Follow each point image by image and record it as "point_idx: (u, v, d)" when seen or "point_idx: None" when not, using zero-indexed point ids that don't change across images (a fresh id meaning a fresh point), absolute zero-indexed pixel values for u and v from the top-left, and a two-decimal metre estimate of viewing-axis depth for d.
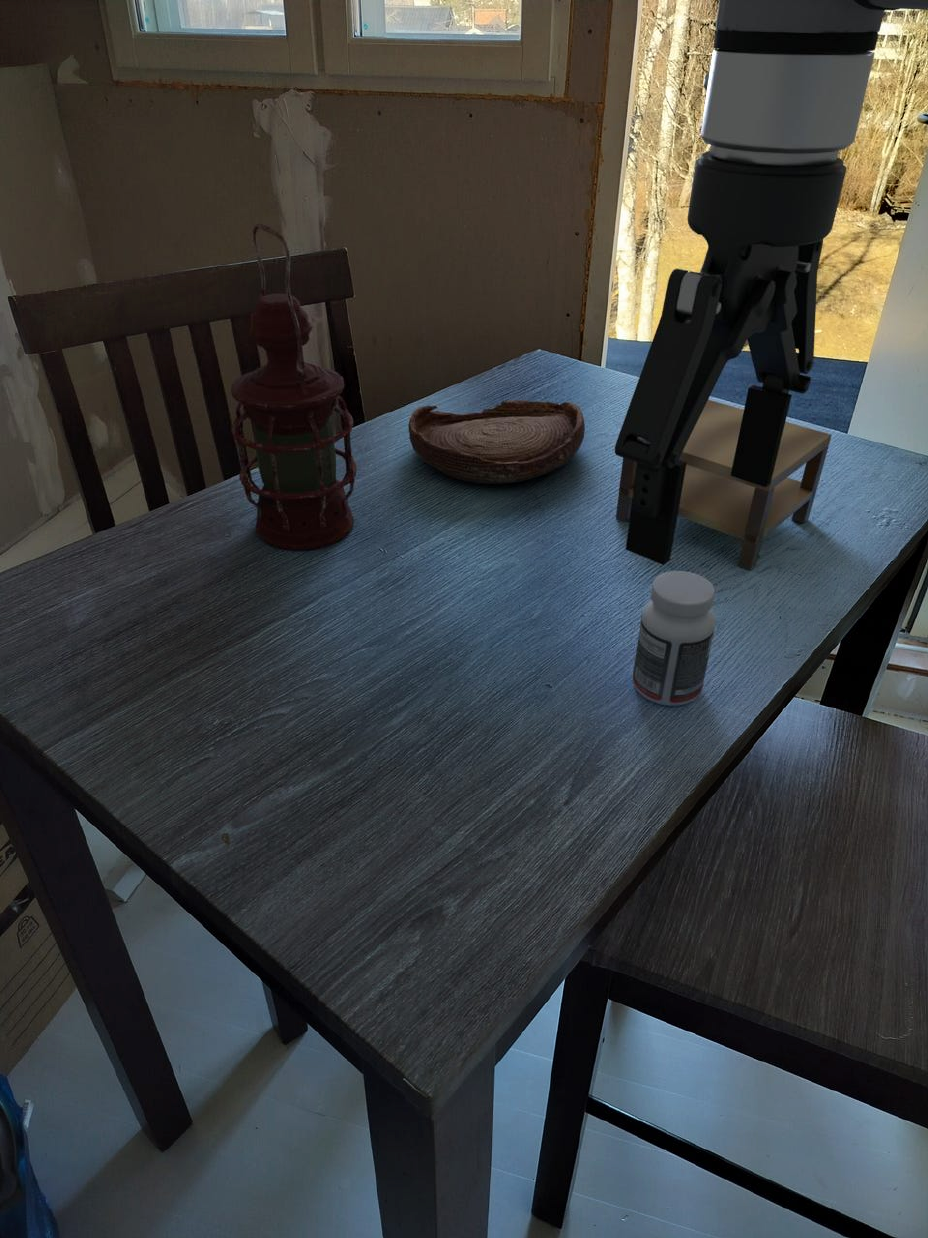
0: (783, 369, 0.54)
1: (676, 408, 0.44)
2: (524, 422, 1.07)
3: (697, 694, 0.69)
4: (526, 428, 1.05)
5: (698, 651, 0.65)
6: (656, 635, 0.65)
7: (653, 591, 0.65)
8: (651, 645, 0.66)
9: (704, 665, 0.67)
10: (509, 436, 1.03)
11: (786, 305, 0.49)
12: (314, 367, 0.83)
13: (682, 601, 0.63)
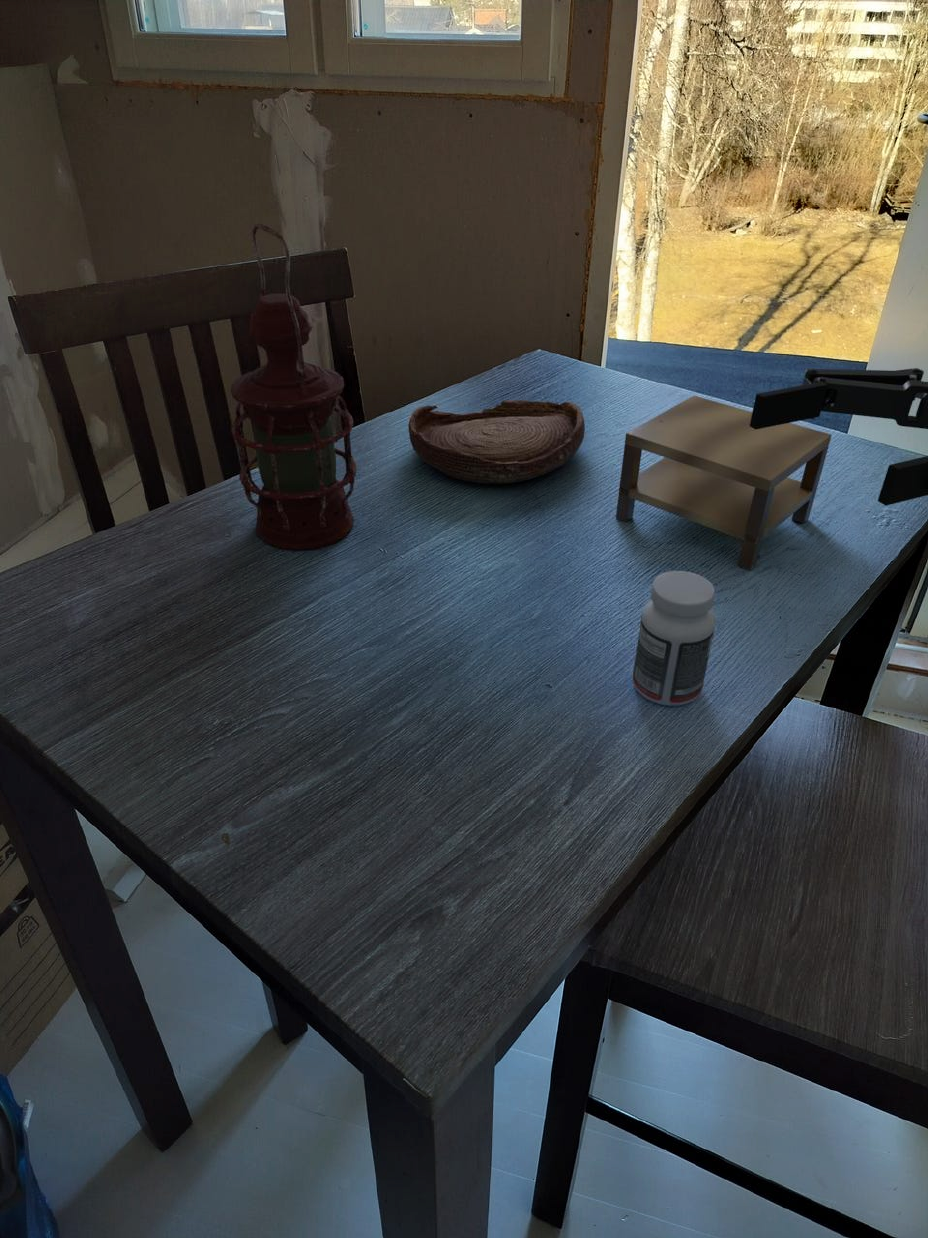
0: None
1: (845, 371, 0.71)
2: (524, 422, 1.07)
3: (697, 694, 0.69)
4: (526, 428, 1.05)
5: (698, 651, 0.65)
6: (656, 635, 0.65)
7: (653, 591, 0.65)
8: (651, 645, 0.66)
9: (704, 665, 0.67)
10: (509, 436, 1.03)
11: None
12: (314, 367, 0.83)
13: (682, 601, 0.63)
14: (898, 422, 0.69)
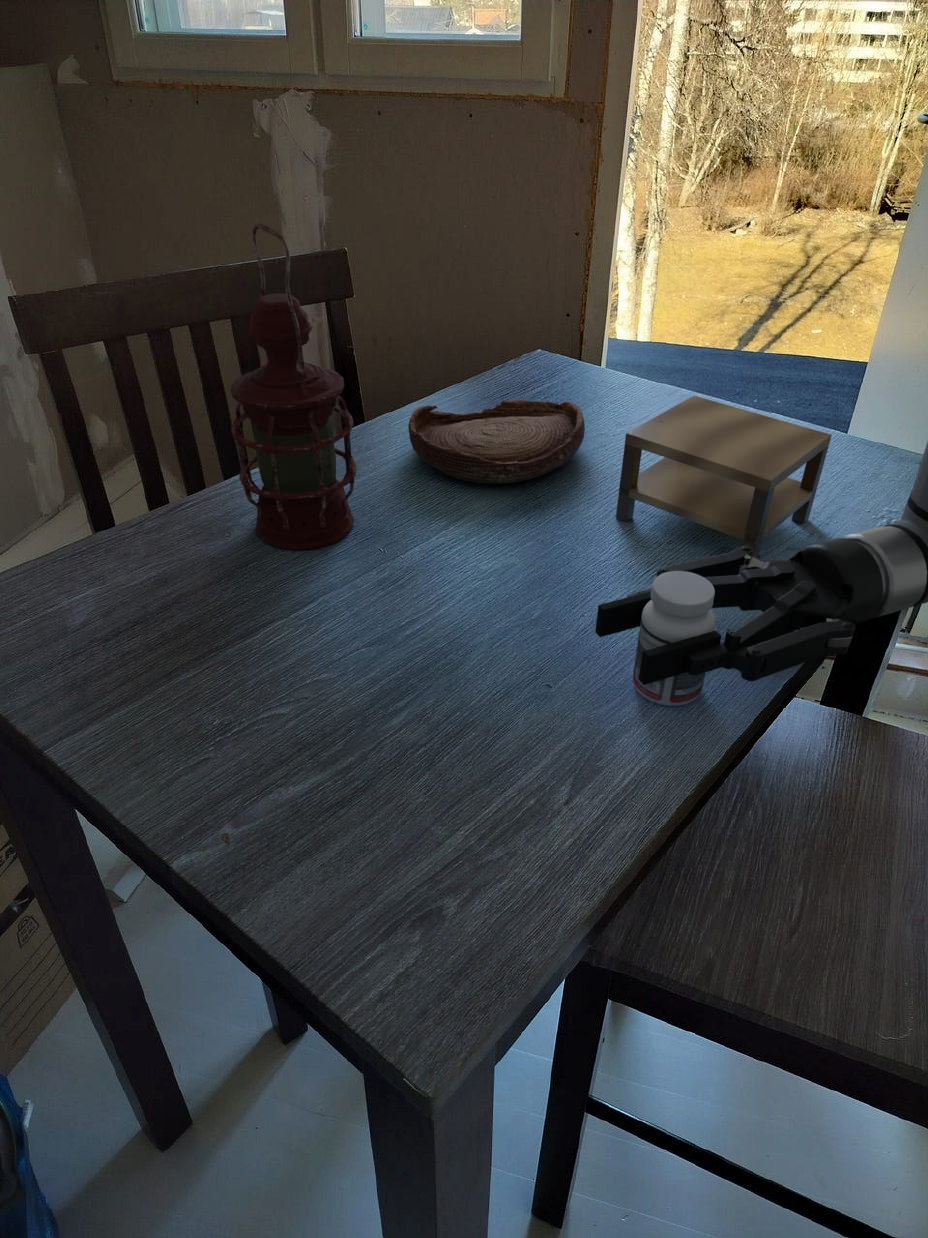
0: None
1: (690, 564, 0.73)
2: (524, 422, 1.07)
3: (697, 694, 0.69)
4: (526, 428, 1.05)
5: None
6: (656, 635, 0.65)
7: (653, 591, 0.65)
8: (651, 645, 0.66)
9: None
10: (509, 436, 1.03)
11: (793, 592, 0.68)
12: (314, 367, 0.83)
13: (682, 601, 0.63)
14: (742, 608, 0.72)
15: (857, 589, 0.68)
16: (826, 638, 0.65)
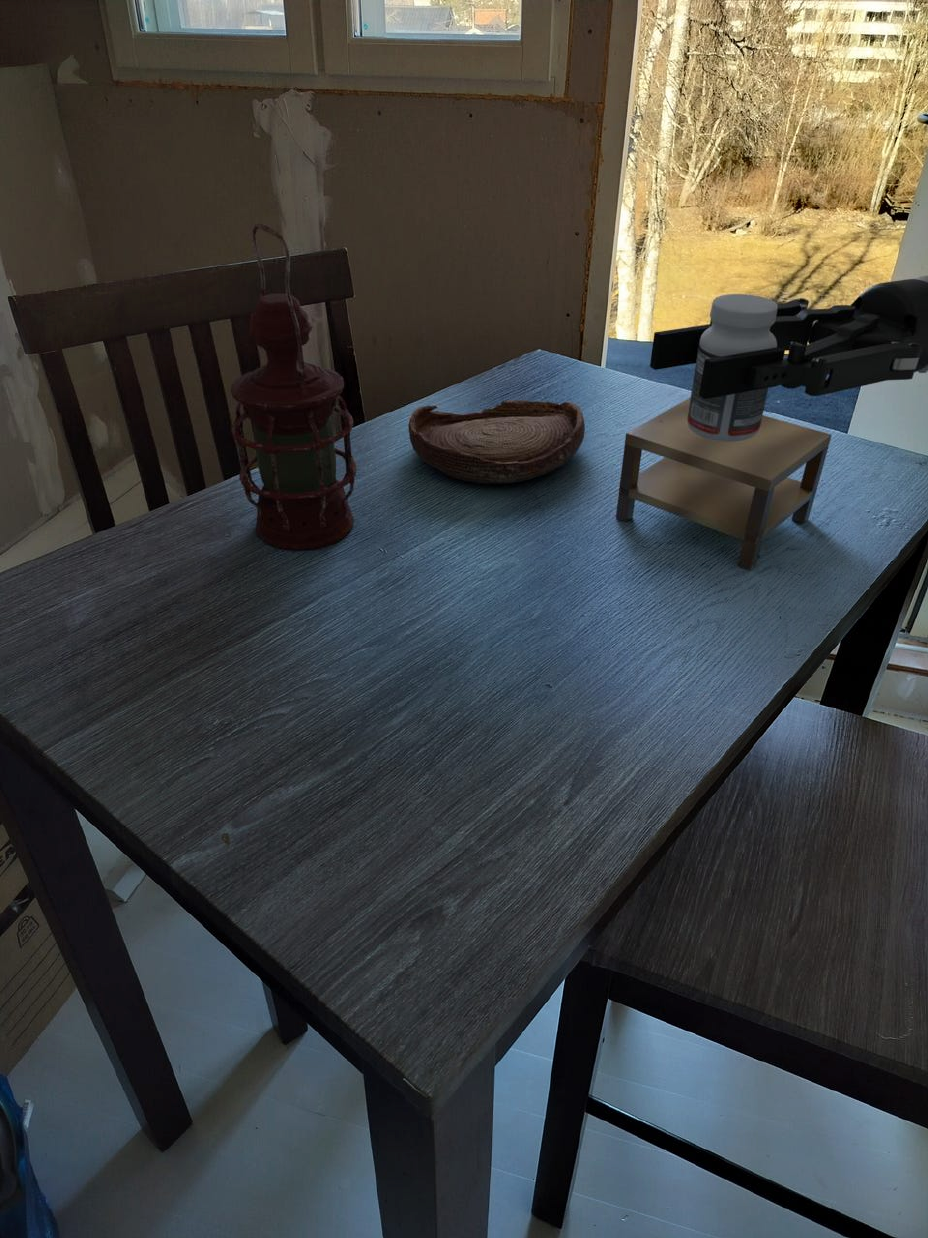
0: None
1: None
2: (524, 422, 1.07)
3: (755, 429, 0.66)
4: (526, 428, 1.05)
5: None
6: (716, 354, 0.63)
7: (713, 307, 0.63)
8: None
9: (764, 393, 0.65)
10: (509, 436, 1.03)
11: (855, 322, 0.66)
12: (314, 367, 0.83)
13: (745, 310, 0.61)
14: None
15: (921, 319, 0.66)
16: (892, 357, 0.63)
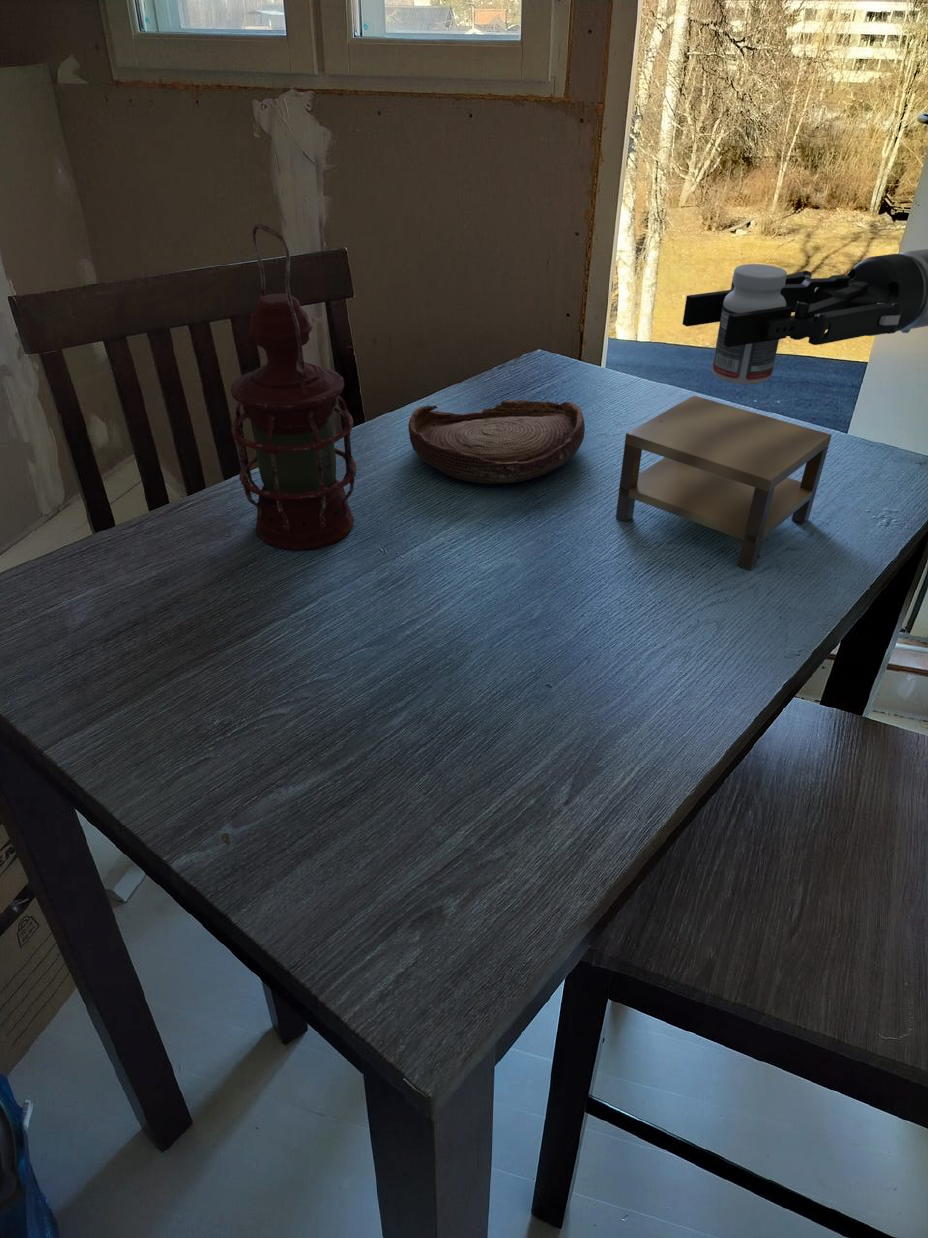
0: None
1: None
2: (524, 422, 1.07)
3: (768, 374, 0.82)
4: (526, 428, 1.05)
5: None
6: (737, 311, 0.78)
7: (735, 274, 0.78)
8: None
9: (776, 344, 0.80)
10: (509, 436, 1.03)
11: (849, 287, 0.81)
12: (314, 367, 0.83)
13: (760, 276, 0.77)
14: None
15: (902, 285, 0.82)
16: (878, 314, 0.78)
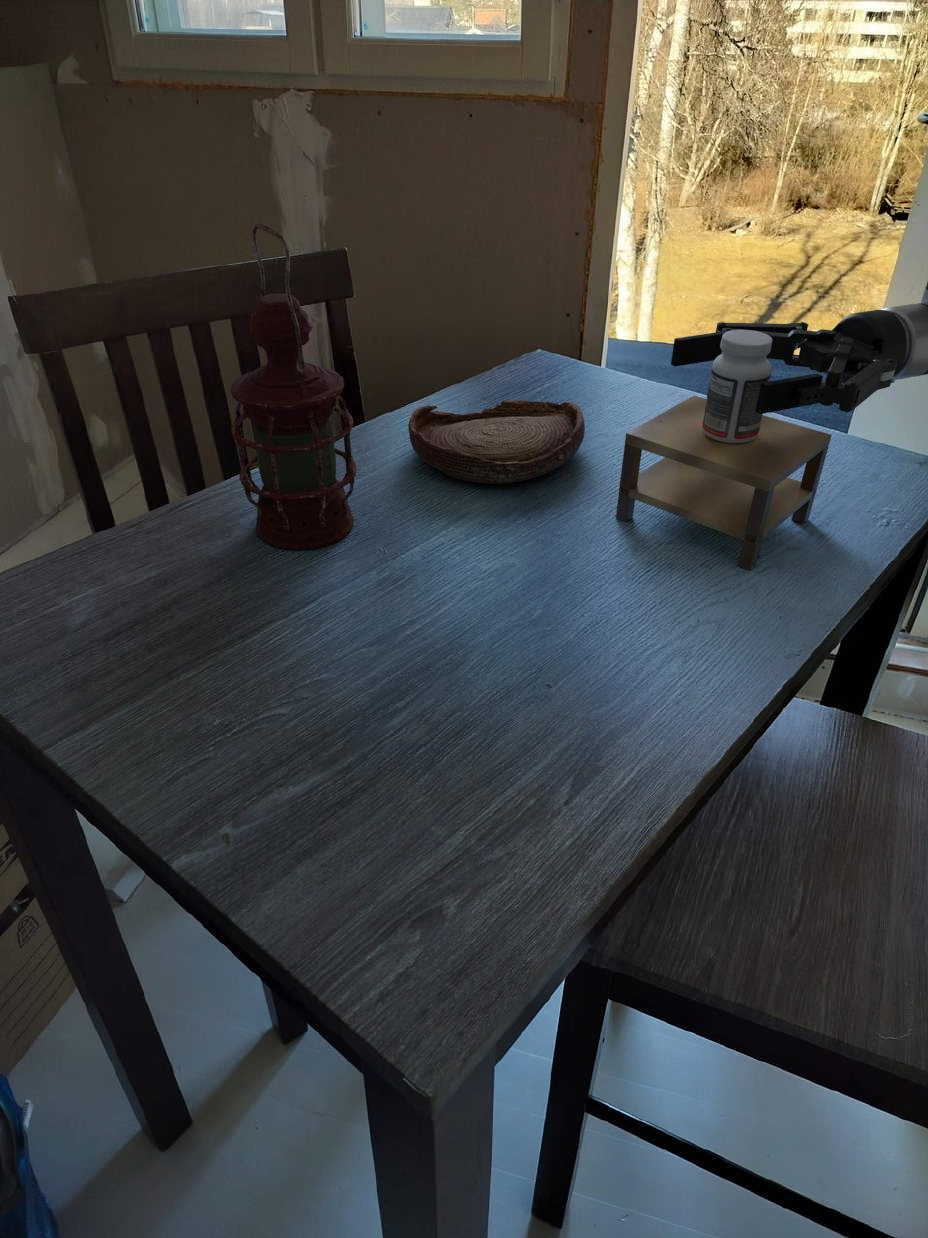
0: None
1: (747, 324, 0.91)
2: (524, 422, 1.07)
3: (755, 434, 0.86)
4: (526, 428, 1.05)
5: (758, 389, 0.82)
6: (725, 376, 0.82)
7: (723, 340, 0.82)
8: (720, 387, 0.83)
9: None
10: (509, 436, 1.03)
11: (841, 345, 0.84)
12: (314, 367, 0.83)
13: (747, 343, 0.80)
14: (786, 362, 0.90)
15: (886, 341, 0.85)
16: (882, 372, 0.82)
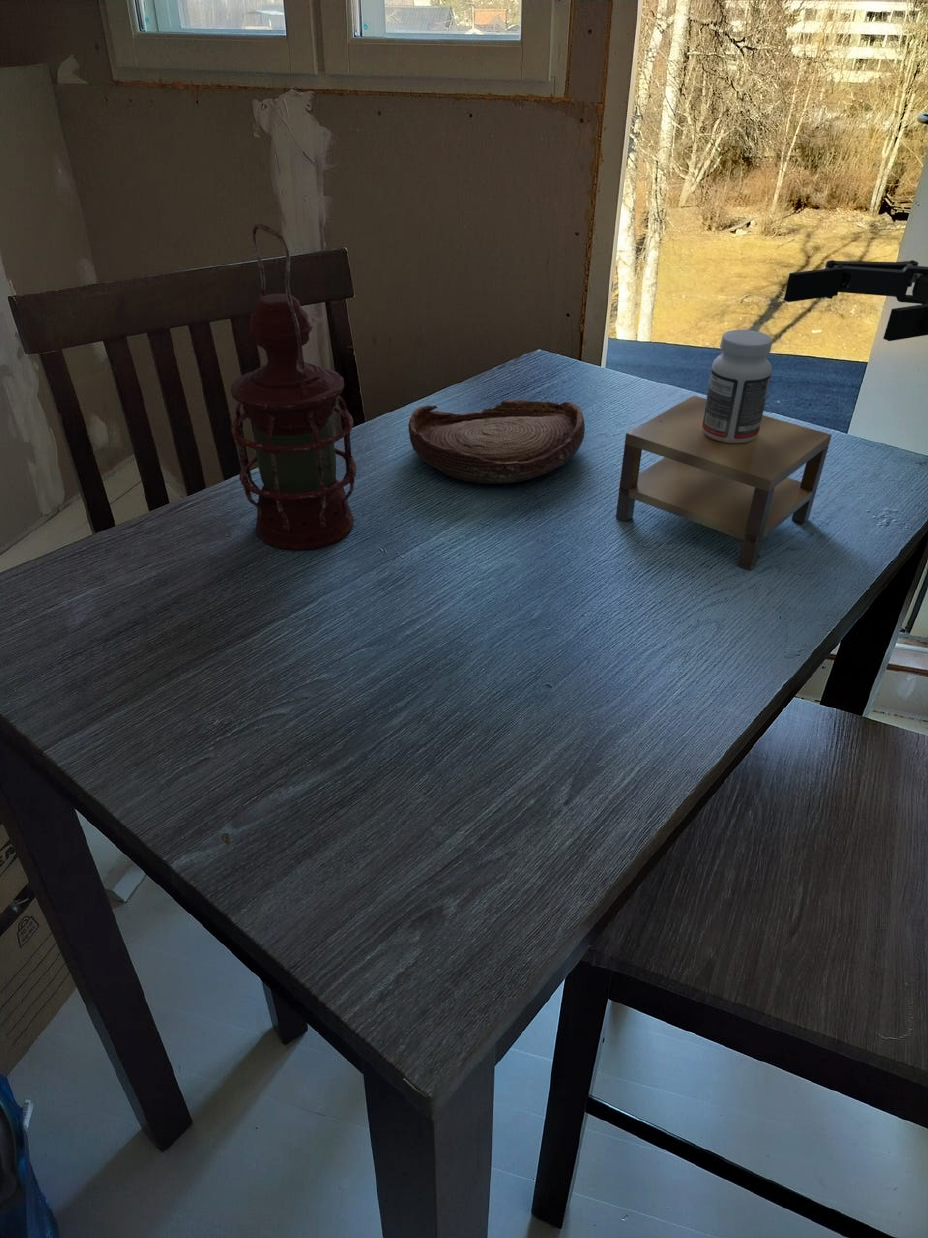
0: None
1: (857, 262, 0.91)
2: (524, 422, 1.07)
3: (755, 434, 0.86)
4: (526, 428, 1.05)
5: (758, 389, 0.82)
6: (725, 376, 0.82)
7: (723, 340, 0.82)
8: (720, 387, 0.83)
9: (762, 406, 0.84)
10: (509, 436, 1.03)
11: None
12: (314, 367, 0.83)
13: (747, 343, 0.80)
14: (898, 299, 0.89)
15: None
16: None
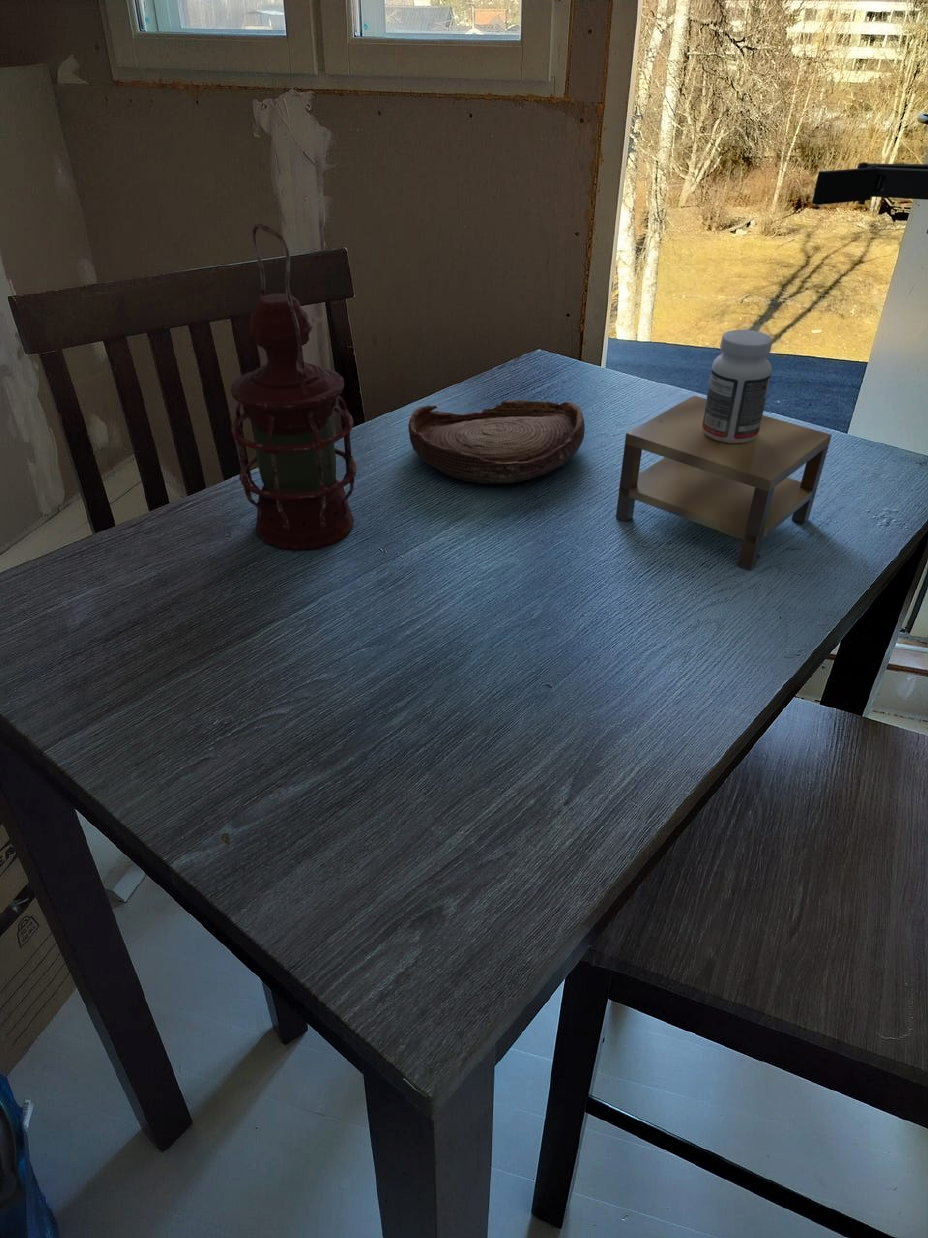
0: None
1: (891, 164, 0.83)
2: (524, 422, 1.07)
3: (755, 434, 0.86)
4: (526, 428, 1.05)
5: (758, 389, 0.82)
6: (725, 376, 0.82)
7: (723, 340, 0.82)
8: (720, 387, 0.83)
9: (762, 406, 0.84)
10: (509, 436, 1.03)
11: None
12: (314, 367, 0.83)
13: (747, 343, 0.80)
14: None
15: None
16: None
